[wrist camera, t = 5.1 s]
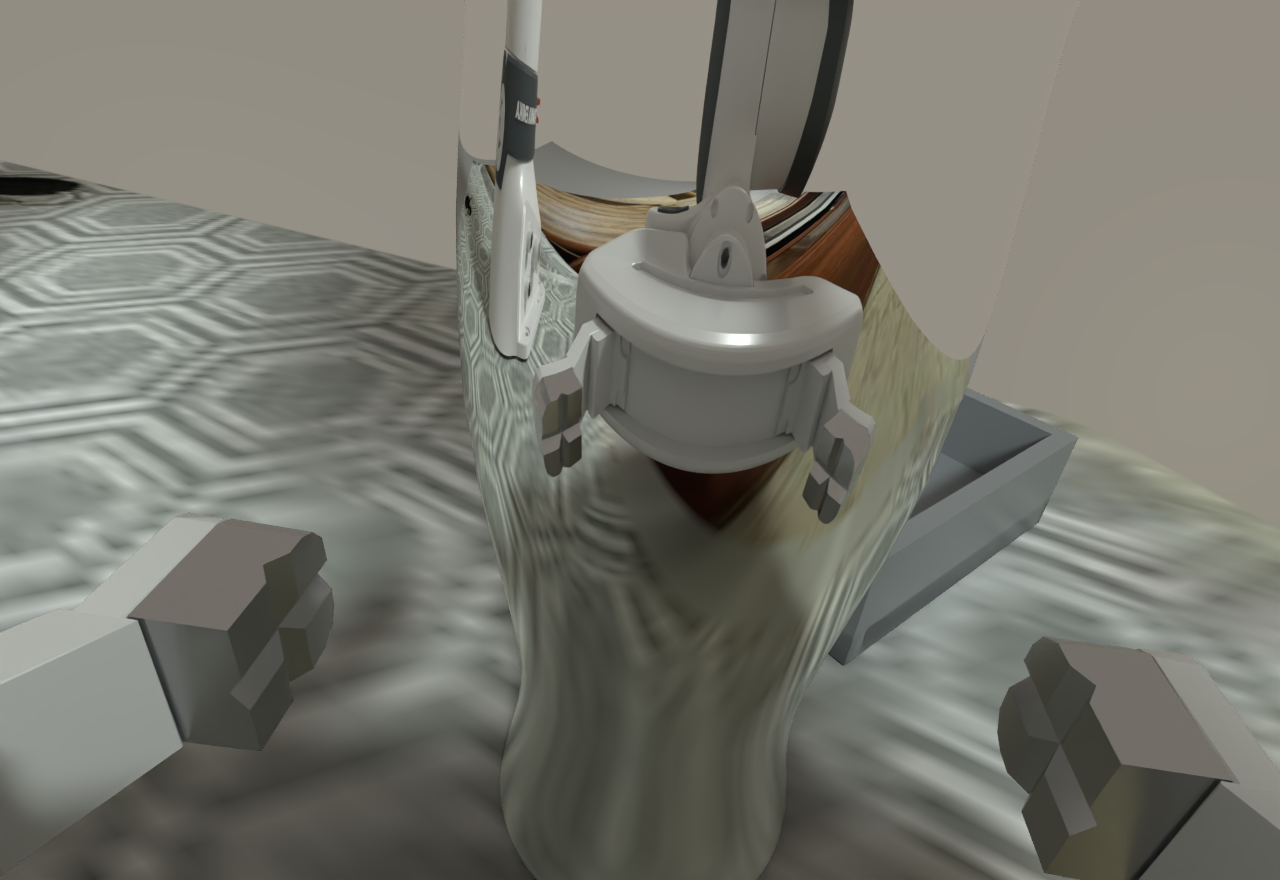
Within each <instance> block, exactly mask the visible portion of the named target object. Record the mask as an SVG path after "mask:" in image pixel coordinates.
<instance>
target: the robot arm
mask: <svg viewBox="0 0 1280 880" xmlns="http://www.w3.org/2000/svg"><path fill="white" fill-rule="evenodd" d="M326 561H327V558H326V553H325V549H324V544H323V540H322V537H320V536H318V535H317V534H315V533H313V532H308V531H302V530H296V529H290V528H284V527H278V526H272V525H266V524H260V523H254V522H248V521H242V520H236V519H224V518H218V517H213V516H207V515H201V514H195V513H190V512H189V513H186V514H183V515H179V516H176V517H174V518H173V519H172V520H170V521H169V522H168V523H167V524H166V525H165V526H164V527H163V528H162V529H161V530H160V531H159V532H157V533H156V534H155V535H154V536H153V537H152V538H151V539H150V540H149V541H148V542H147V543H146V544H144V545H143V546H142V547H141V548H140V549H139V550H138V551H137V552H136V553H135V554H134V555H133V556H131V557H130V558H129V559H128V560H127V561H126V562H125V563H124V564H123V565H122V566H121V567H120V568H118V569H117V570H116V571H115V572H114V573H113V574H112V575H111V576H110V577H109V578H108V579H107V580H105V581H104V582H103V583H102V584H101V585H100V586H99V587H98V588H97V589H96V590H95V591H94V592H92V593H91V594H90V595H89V596H88V597H87V598H86V599H85V600H84V601H83V602H82V603H81V604H79V605H78V606H77V607H76V608H75V609H74V610H67V609H59V608H58V609H56V610H54V611H51V612H49V613H46V614H44V615H41V616H39V617H37V618H34V619H32V620H29V621H27V622H24V623H22V624H20V625H17V626H15V627H12V628H10V629H7V630H5V631H3V632H0V876H1V875H2V874H4V873H5V872H7V871H8V870H9V869H11V868H12V867H14V866H15V865H17V864H18V863H19V862H21V861H22V860H24V859H25V858H26V857H28V856H29V855H31V854H32V853H33V852H35V851H36V850H38V849H39V848H41V847H42V846H43V845H45V844H46V843H48V842H49V841H50V840H52V839H53V838H55V837H56V836H57V835H59V834H60V833H62V832H63V831H65V830H66V829H67V828H69V827H70V826H72V825H73V824H74V823H76V822H77V821H79V820H80V819H81V818H83V817H84V816H86V815H87V814H89V813H90V812H91V811H93V810H94V809H96V808H97V807H98V806H100V805H101V804H103V803H104V802H105V801H107V800H108V799H110V798H111V797H113V796H114V795H115V794H117V793H118V792H120V791H121V790H122V789H124V788H125V787H127V786H128V785H129V784H131V783H132V782H134V781H135V780H137V779H138V778H139V777H141V776H142V775H144V774H145V773H146V772H148V771H149V770H151V769H152V768H153V767H155V766H156V765H158V764H159V763H161V762H162V761H163V760H165V759H166V758H168V757H169V756H170V755H172V754H173V753H175V752H176V751H177V750H179V749H180V748H182V747H183V742H190V743H197V744H205V745H213V746H221V747H229V748H237V749H245V750H253V751H262V749H263V748H264V746H265V745H266V743H267V741H268V740H269V738H270V737H271V735H272V734H273V732H274V730H275V729H276V727H277V726H278V724H279V722H280V721H281V719H282V718H283V716H284V714H285V713H286V711H287V710H288V708H289V706H290V705H291V703H292V702H293V697H292V691H291V686H290V682H291V681H293V680H295V679H296V678H298V677H300V676H301V675H303V674H305V673H307V672H308V671H310V670H312V669H313V668H314V666H315V664H316V663H317V661H318V659H319V658H320V656H321V654H322V653H323V651H324V649H325V647H326V644H327V641H328V638H329V635H330V631H331V628H332V625H333V616H334V600H333V593H332V589H331V588H330V586H329V585H328V584H327V583H326V582H325V581H324V580H323V579H322V578H321V577H320V576H319V575H318V574H317V573H318V572H319V571H320V569H321V568H322V566H323V565H324V563H325V562H326ZM1024 662H1025V664H1026V667H1027V669H1028V671H1029V674H1030V677H1028V678H1026V679H1024V680H1022V681H1021V682H1019V683H1017V684H1015V685H1013V686H1012V687H1010V688H1009V689H1008V692H1007V694H1006V696H1005V698H1004V700H1003V702H1002V704H1001V707H1000V710H999V720H998V731H997V733H998V740H999V746H1000V752H1001V755H1002V758H1003V761H1004V764H1005V767H1006V770H1007V773H1008V774H1009V775H1010V776H1011V777H1012V778H1013V779H1014V780H1015V781H1016V782H1017V783H1018V784H1019V785H1020V786H1021V787H1022V788H1023V789H1024V790H1025V791H1026V792H1027V793H1028V794H1029V795H1028V797H1027V800H1026V802H1025V804H1024V807H1023V809H1022V811H1021V812H1022V814H1023V817H1024V820H1025V823H1026V825H1027V828H1028V831H1029V833H1030V836H1031V839H1032V841H1033V844H1034V847H1035V850H1036V852H1037V855H1038V858H1039V860H1040V863H1041V866H1042V869H1043V871H1044V873H1046V874H1052V875H1057V876H1062V877H1068V878H1073V879H1079V880H1280V772H1279V771H1278V770H1277V768H1276V767H1275V765H1274V764H1273V763H1272V761H1271V760H1270V758H1269V757H1268V756H1267V754H1266V753H1265V751H1264V750H1263V749H1262V747H1261V746H1260V745H1259V743H1258V742H1257V740H1256V739H1255V738H1254V736H1253V735H1252V733H1251V732H1250V731H1249V729H1248V728H1247V726H1246V725H1245V724H1244V722H1243V721H1242V720H1241V718H1240V717H1239V715H1238V714H1237V713H1236V711H1235V710H1234V708H1233V707H1232V706H1231V704H1230V703H1229V701H1228V700H1227V699H1226V697H1225V696H1224V695H1223V693H1222V692H1221V690H1220V689H1219V688H1218V686H1217V685H1216V683H1215V682H1214V681H1213V679H1212V678H1211V676H1210V675H1209V674H1208V672H1207V671H1206V670H1205V668H1204V667H1203V666H1202V665H1201V664H1200V663H1199V662H1197V661H1196V660H1194V659H1193V658H1191V657H1190V656H1189V655H1184V654H1176V653H1168V652H1160V651H1153V650H1145V649H1136V650H1135V649H1131V648H1125V647H1118V646H1110V645H1103V644H1095V643H1088V642H1081V641H1073V640H1066V639H1058V638H1051V637H1042V638H1041V639H1040V640H1038V641H1037V642H1035V643H1034V644H1033V645H1032V647H1031V648H1030V650H1029V652H1028V654H1027V656H1026V657H1025V659H1024Z"/></svg>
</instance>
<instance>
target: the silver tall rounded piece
mask: <svg viewBox="0 0 1280 880" xmlns="http://www.w3.org/2000/svg"><path fill="white" fill-rule="evenodd" d="M1081 2H1082V0H465V1H464V31H463V34H464V35H463V53H462V73H461V92H460V110H459V137H458V138H459V139H458V168H457V199H456V248H457V249H456V250H457V251H456V254H457V315H458V328H459V341H460V354H461V367H462V380H463V393H464V404H465V410H466V416H467V421H468V427H469V433H470V438H471V444H472V449H473V455H474V460H475V466H476V472H477V477H478V483H479V488H480V492H481V497H482V501H483V505H484V509H485V513H486V517H487V522H488V526H489V530H490V534H491V538H492V542H493V546H494V551H495V555H496V559H497V563H498V567H499V571H500V575H501V578H502V582H503V586H504V590H505V594H506V598H507V602H508V606H509V609H510V613H511V618H512V623H513V627H514V632H515V637H516V641H517V646H518V651H519V663H520V689H519V695H518V701H517V705H516V708H515V712H514V716H513V719H512V723H511V726H510V730H509V733H508V737H507V741H506V745H505V749H504V754H503V759H502V765H501V776H500V798H501V806H502V812H503V816H504V820H505V824H506V827H507V830H508V833H509V835H510V838H511V840H512V842H513V845H514V847H515V849H516V851H517V852H518V854H519V856H520V858H521V859H522V861H523V862H524V864H525V865H526V867H527V868H528V869H529V871H530V872H531V873H532V875H533V876H534V877H535V878H536V879H537V880H757V879H758V877H759V876H760V875H761V873H762V872H763V871H764V869H765V867H766V866H767V864H768V862H769V861H770V859H771V857H772V855H773V853H774V850H775V848H776V845H777V842H778V839H779V836H780V832H781V828H782V824H783V819H784V813H785V802H786V781H787V746H788V737H789V733H790V729H791V725H792V721H793V719H794V716H795V713H796V711H797V708H798V706H799V703H800V701H801V699H802V697H803V695H804V694H805V692H806V690H807V688H808V687H809V685H810V683H811V681H812V680H813V678H814V676H815V675H816V673H817V671H818V669H819V668H820V666H821V664H822V663H823V661H824V659H825V658H826V656H827V655H828V653H829V652H830V650H831V648H832V647H833V645H834V644H835V642H836V641H837V639H838V637H839V636H840V634H841V633H842V631H843V629H844V628H845V626H846V625H847V623H848V622H849V620H850V618H851V617H852V615H853V614H854V612H855V610H856V609H857V607H858V605H859V604H860V602H861V600H862V599H863V597H864V596H865V594H866V592H867V591H868V589H869V587H870V586H871V584H872V582H873V581H874V579H875V578H876V576H877V574H878V573H879V571H880V569H881V568H882V566H883V564H884V563H885V561H886V559H887V558H888V556H889V555H890V553H891V551H892V549H893V547H894V545H895V543H896V541H897V540H898V538H899V536H900V534H901V532H902V530H903V528H904V526H905V524H906V523H907V521H908V519H909V517H910V515H911V513H912V511H913V509H914V507H915V506H916V504H917V502H918V500H919V498H920V496H921V494H922V492H923V490H924V489H925V487H926V485H927V483H928V481H929V479H930V477H931V475H932V473H933V471H934V468H935V466H936V463H937V461H938V458H939V456H940V453H941V451H942V449H943V446H944V444H945V441H946V439H947V436H948V434H949V431H950V429H951V426H952V424H953V421H954V419H955V416H956V414H957V411H958V409H959V406H960V404H961V401H962V399H963V396H964V394H965V392H966V389H967V387H968V384H969V381H970V379H971V376H972V373H973V369H974V367H975V363H976V360H977V357H978V354H979V351H980V348H981V345H982V342H983V338H984V335H985V332H986V330H987V326H988V323H989V320H990V317H991V314H992V311H993V308H994V305H995V301H996V299H997V296H998V293H999V289H1000V286H1001V283H1002V279H1003V275H1004V272H1005V269H1006V265H1007V261H1008V258H1009V254H1010V251H1011V247H1012V243H1013V240H1014V235H1015V232H1016V229H1017V225H1018V221H1019V218H1020V214H1021V211H1022V207H1023V203H1024V199H1025V196H1026V192H1027V189H1028V185H1029V181H1030V177H1031V173H1032V169H1033V165H1034V161H1035V157H1036V153H1037V149H1038V145H1039V141H1040V137H1041V133H1042V129H1043V126H1044V121H1045V118H1046V114H1047V110H1048V106H1049V102H1050V98H1051V95H1052V91H1053V87H1054V84H1055V80H1056V76H1057V73H1058V69H1059V66H1060V62H1061V58H1062V54H1063V51H1064V48H1065V44H1066V41H1067V38H1068V35H1069V32H1070V28H1071V25H1072V22H1073V19H1074V16H1075V14H1076V11H1077V9H1078V6H1079V5H1080V3H1081Z"/></svg>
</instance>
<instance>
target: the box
mask: <svg viewBox="0 0 1280 880" xmlns="http://www.w3.org/2000/svg"><path fill="white" fill-rule="evenodd" d="M1077 439H1078V437H1076V436H1074V435H1072V434H1069V433H1067V432H1065V431H1063V430H1061V429H1058V428H1056V427H1054V426H1052V425H1049V424H1047V423H1045V422H1043V421H1040V420H1038V419H1036V418H1034V417H1031V416H1029V415H1027V414H1025V413H1022V412H1020V411H1018V410H1016V409H1013V408H1011V407H1009V406H1007V405H1004V404H1002V403H1000V402H998V401H996V400H993V399H991V398H989V397H987V396H984V395H982V394H980V393H978V392H975V391H973V390H971V389H969V388H967V389H966V392H965V394H964V396H963V399H962V401H961V404H960V406H959V409H958V411H957V414H956V416H955V419H954V421H953V424H952V426H951V429H950V431H949V434H948V436H947V439H946V441H945V444H944V446H943V449H942V451H941V453H940V456H939V458H938V461H937V463H936V466H935V468H934V471H933V473H932V475H931V477H930V479H929V481H928V483H927V485H926V487H925V489H924V490H923V492H922V494H921V496H920V498H919V500H918V502H917V504H916V506H915V507H914V509H913V511H912V513H911V515H910V517H909V519H908V521H907V523H906V524H905V526H904V528H903V530H902V532H901V534H900V536H899V538H898V540H897V541H896V543H895V545H894V547H893V549H892V551H891V553H890V555H889V556H888V558H887V559H886V561H885V563H884V564H883V566H882V568H881V569H880V571H879V573H878V574H877V576H876V578H875V579H874V581H873V582H872V584H871V586H870V587H869V589H868V591H867V592H866V594H865V596H864V597H863V599H862V600H861V602H860V604H859V605H858V607H857V609H856V610H855V612H854V614H853V615H852V617H851V618H850V620H849V622H848V623H847V625H846V626H845V628H844V629H843V631H842V633H841V634H840V636H839V637H838V639H837V641H836V642H835V644H834V645H833V647H832V648H831V650H830V652H829V654H830V655H831V656H833V657H834V658H835V659H836V660H838V661H839V662H840V663H841V664H843V665H845V664H847V663H848V662H849V661H851V660H852V659H854V658H855V657H856V656H858V655H859V654H860V653H862V652H863V651H864V650H866V649H867V648H868V647H870V646H871V645H873V644H874V643H875V642H877V641H878V640H879V639H881V638H882V637H883V636H885V635H886V634H887V633H889V632H890V631H892V630H893V629H894V628H896V627H897V626H898V625H900V624H901V623H902V622H904V621H905V620H907V619H908V618H909V617H911V616H912V615H913V614H915V613H916V612H917V611H919V610H920V609H921V608H923V607H924V606H926V605H927V604H928V603H930V602H931V601H932V600H934V599H935V598H936V597H938V596H939V595H940V594H942V593H943V592H945V591H946V590H947V589H949V588H950V587H951V586H953V585H954V584H955V583H957V582H958V581H959V580H961V579H962V578H964V577H965V576H966V575H968V574H969V573H970V572H972V571H973V570H974V569H976V568H977V567H978V566H980V565H981V564H983V563H984V562H985V561H987V560H988V559H989V558H991V557H992V556H993V555H995V554H996V553H998V552H999V551H1000V550H1002V549H1003V548H1004V547H1006V546H1007V545H1008V544H1010V543H1011V542H1012V541H1014V540H1015V539H1017V538H1018V537H1019V536H1021V535H1022V534H1023V533H1025V532H1026V531H1027V530H1029V529H1030V528H1031V527H1033V526H1034V525H1036V524H1037V523H1038V522H1039V520H1040V518H1041V516H1042V514H1043V512H1044V510H1045V507H1046V505H1047V503H1048V501H1049V499H1050V497H1051V495H1052V493H1053V490H1054V488H1055V486H1056V484H1057V482H1058V480H1059V478H1060V476H1061V473H1062V471H1063V469H1064V467H1065V465H1066V463H1067V461H1068V459H1069V456H1070V454H1071V452H1072V450H1073V448H1074V446H1075V444H1076V442H1077Z"/></svg>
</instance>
